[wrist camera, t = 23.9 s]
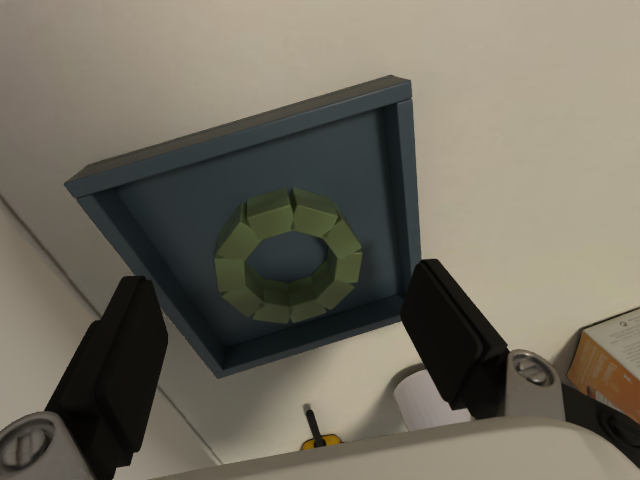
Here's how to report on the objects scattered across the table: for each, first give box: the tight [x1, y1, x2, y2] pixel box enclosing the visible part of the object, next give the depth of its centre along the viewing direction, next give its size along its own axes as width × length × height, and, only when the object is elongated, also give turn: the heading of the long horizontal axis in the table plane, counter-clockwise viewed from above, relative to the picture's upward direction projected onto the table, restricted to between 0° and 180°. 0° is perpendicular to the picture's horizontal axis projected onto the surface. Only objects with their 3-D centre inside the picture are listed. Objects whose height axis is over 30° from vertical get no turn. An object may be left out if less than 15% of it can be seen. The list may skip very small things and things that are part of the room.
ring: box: [214, 187, 363, 324], centre depth 14 cm, size 6×7×2 cm
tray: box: [64, 75, 421, 379], centre depth 14 cm, size 12×12×2 cm
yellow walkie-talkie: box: [302, 409, 343, 450], centre depth 27 cm, size 5×2×15 cm
